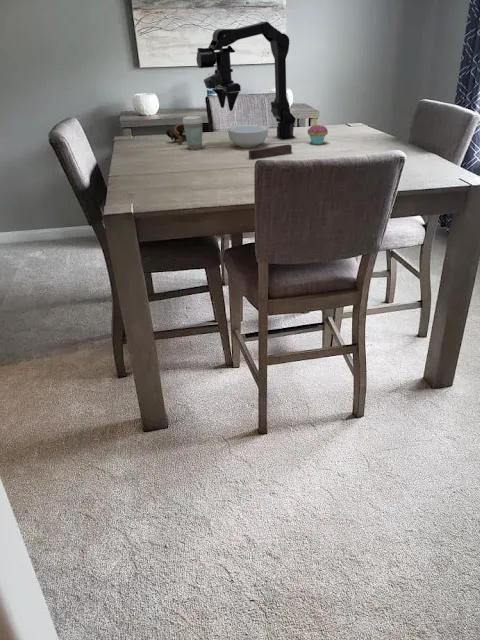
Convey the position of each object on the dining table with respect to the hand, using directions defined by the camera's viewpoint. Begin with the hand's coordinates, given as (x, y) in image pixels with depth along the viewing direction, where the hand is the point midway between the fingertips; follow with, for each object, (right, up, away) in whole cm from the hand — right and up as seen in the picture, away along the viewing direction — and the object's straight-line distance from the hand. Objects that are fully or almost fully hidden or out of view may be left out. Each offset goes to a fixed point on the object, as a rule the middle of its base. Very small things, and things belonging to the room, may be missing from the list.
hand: (226, 109), depth 206 cm
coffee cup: (-14, -14, +5) cm, 21 cm away
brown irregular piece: (-22, -8, +15) cm, 28 cm away
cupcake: (+39, -12, +5) cm, 41 cm away
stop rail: (+18, -24, -11) cm, 32 cm away
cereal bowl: (+9, -13, +5) cm, 17 cm away
